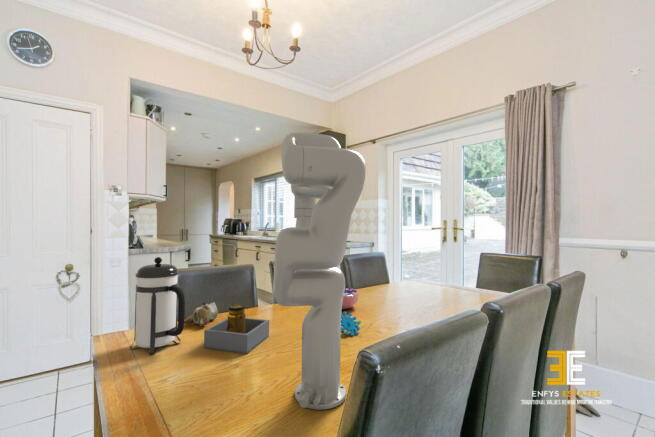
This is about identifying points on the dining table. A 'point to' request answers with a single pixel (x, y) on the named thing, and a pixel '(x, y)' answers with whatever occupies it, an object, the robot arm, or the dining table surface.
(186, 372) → the dining table surface
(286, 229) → the robot arm
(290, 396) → the dining table surface
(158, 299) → the coffee press
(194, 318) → the ceramic sculpture
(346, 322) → the blue gear toy
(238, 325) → the condiment
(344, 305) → the cell model
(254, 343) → the bin
